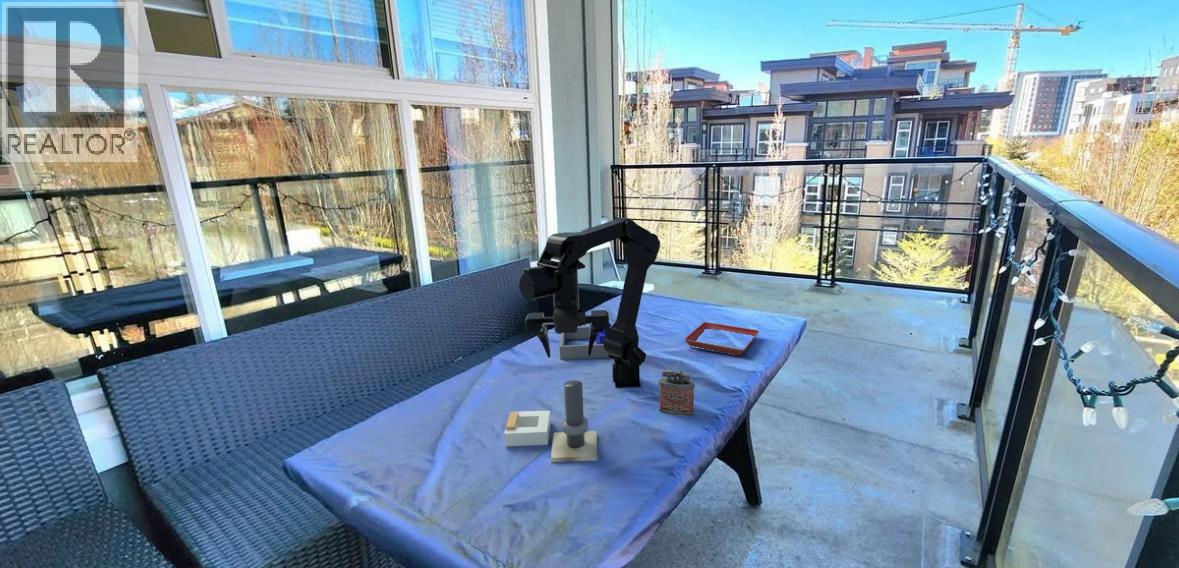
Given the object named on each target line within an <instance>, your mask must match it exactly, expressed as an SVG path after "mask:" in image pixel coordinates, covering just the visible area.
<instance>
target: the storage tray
mask: <svg viewBox="0 0 1179 568" xmlns="http://www.w3.org/2000/svg"><path fill="white" fill-rule="evenodd" d="M612 325H613V324H611V326H612ZM589 332H590V325H588V326H587V325H585V326H578V327H577V332H575V333H561V334H560V340H559V346H558V347H559V360H581V359H603V358H604V359H605V358H607V359H610V358H609V356H608V353H607V352H606V351H605V349H604V344H596V343H594V344H593V348H592V351H591V355H590V356H588V344H572V345H571V344H569V345H566V344H565V343H566V341H568V340H567V339H575V340H588V339H587V338H589ZM596 338H597V337H596Z"/></svg>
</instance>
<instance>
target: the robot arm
mask: <svg viewBox="0 0 1179 568" xmlns="http://www.w3.org/2000/svg"><path fill="white" fill-rule="evenodd" d="M617 239H618V241H619V242H620V243H621V244H623V245H624V256H625V260H626V262H627V268H626V273H625V277H624V283H623V286H622V292H621V296H620V302H619V306H618V310H617V315H616V319H615V322H614V323H612V324H611V325H612V326H611V327H609V323H610V316H609V312H608V311H607V310H606V309H594V310H591V311H590V315H589V314H588V315H587V313H586V308H580V294H579V275H578V273H579V272H578V271H579V270H583V269H586V265H585V264H584V263H583V262H582V261H580V259H581V258H583V257H585V256H586V255H587V253H588V251H589V250H591V249H593V248H596V247H598V246H603V245H604V244H606V243H607V244H608V243H609V242H612V241H614V240H617ZM660 248H661V240H659V237H658V235H657V234H656V233H652V232H651V231H650V230H648V229H646V228H644V227H643V226H641V225H639V224H637V222H635V221H634V220H633V219H631V218H626V217H616V218H614V219H613V220H609V221H607V222H604V223H601V224H598V225H595V226H592V227H589V228H585V229H584V230H581V231H574V232H572V231H571V232H569V231H568V232H557V233H556V232H555V233H552V234H551V235H549V236H548V237H547V241H546V243H545V246H544V249H543V251H542V253H540V254H541V255H540V257H539V259H538V260H537V262H536V266H531V267H529V266H528V267H525V268H523V274H521V276H520V279H519V282H518V286H519V290H520V291H519V292H520V293H521V294H520V295H522V297H523V298H524V300H526V301H528V302H529V301H534V300H537V299H541V298H542V299H543V298H545V297H548V296H552V299H553V310H552V316H545V312H543V311H542V312H529V313H528V314H527V315H526V316H525V319H524V332H526V333H531V335H532V336H536V337H537V338H538V339H539V341H540V343H541V344H542V348H543V349H544V351H545V353H546V356H547V358H551V347H550V342H549V341H550V340H549V334H548V328H547V326H548V327H549V326H554V327H553V328H554V333H556V334H557V335H559V334H560V335H561V333H575V332H577V327H583V326H587V325H589V326H590V332H589V339H588V344H587V345H588V356H590V355H591V351H592V348H593V344H595V341H596V340H597V339H596V337H597V335H598V333H600V332H603V331H604V329H606V330H605V336H604V339H603V342H604V349H605V351H606V352H607V353H608V356H609V358H608V359H612V360H614V361H613V362H614V363H612V364H611V367H612V368H611V370H612V372H611V373H612V382H613V383H614V385H615V388H616V389H617V388H618V389H619V388H622V389H623V388H640V387H642V384H641V376H640V373H641V372H640V371H641V370H640V369H641V366H642V365H643V363H645V361H646V358H647V353H646V352H645V351H644V350H643V349H642V348H641V347H639V340H640V336H639V333H638V330H637V326H636V324H637V319H638V315H639V310H640V305H641V300H642V296H643V292H644V287H645V282H646V278H647V273H648V269H649V268H650V267H652V265H653V264H654V262H656V260H657V258H658V257H657V256H658V254H659V252H660Z"/></svg>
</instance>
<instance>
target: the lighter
mask: <svg viewBox="0 0 1179 568" xmlns="http://www.w3.org/2000/svg"><path fill="white" fill-rule="evenodd" d="M658 385H659V406H658V412H660V413H662V414H666V415H672V416H679V417H693V416H694V415H695V407H694V406H695V405H694V404H695V398H694V397H695V387H696V384H695V381H693V380H690V373H689V372H682V370H680V369H678V370H676V371H673V370H668V369H667V370H666V369H663V370H662V371H661V378H659V379H658Z"/></svg>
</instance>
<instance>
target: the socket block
mask: <svg viewBox="0 0 1179 568" xmlns="http://www.w3.org/2000/svg"><path fill="white" fill-rule="evenodd" d="M551 419H552V418H551V410H529V411H528V410H527V411H525V410H524V411H510V413H509V415H508V419H507V422H506V426H505V429H504V434H503V435H504V446H505V447H526V446H528V447H529V446H548V445H549V438H550V433H551V424H552V420H551Z"/></svg>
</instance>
